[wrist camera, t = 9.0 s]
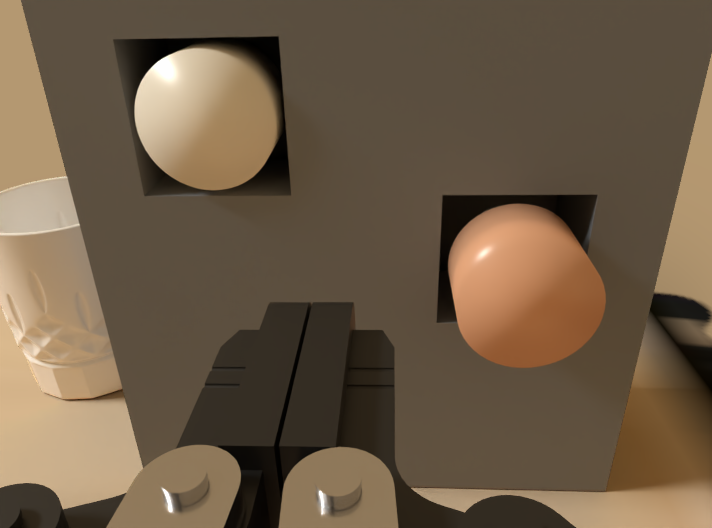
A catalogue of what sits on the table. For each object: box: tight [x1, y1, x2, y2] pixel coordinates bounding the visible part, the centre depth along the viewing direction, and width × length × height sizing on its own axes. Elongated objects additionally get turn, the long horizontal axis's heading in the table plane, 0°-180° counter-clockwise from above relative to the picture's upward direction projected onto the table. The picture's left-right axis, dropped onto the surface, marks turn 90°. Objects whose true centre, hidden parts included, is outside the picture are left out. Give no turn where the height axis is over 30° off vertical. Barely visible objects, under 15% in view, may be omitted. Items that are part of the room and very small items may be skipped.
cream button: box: [135, 37, 286, 190], centre depth 21 cm, size 6×4×4 cm
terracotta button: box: [448, 204, 606, 368], centre depth 21 cm, size 6×4×4 cm
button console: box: [21, 0, 712, 491], centre depth 24 cm, size 7×20×22 cm, turn 87°
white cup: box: [0, 176, 122, 399], centre depth 32 cm, size 8×8×10 cm
